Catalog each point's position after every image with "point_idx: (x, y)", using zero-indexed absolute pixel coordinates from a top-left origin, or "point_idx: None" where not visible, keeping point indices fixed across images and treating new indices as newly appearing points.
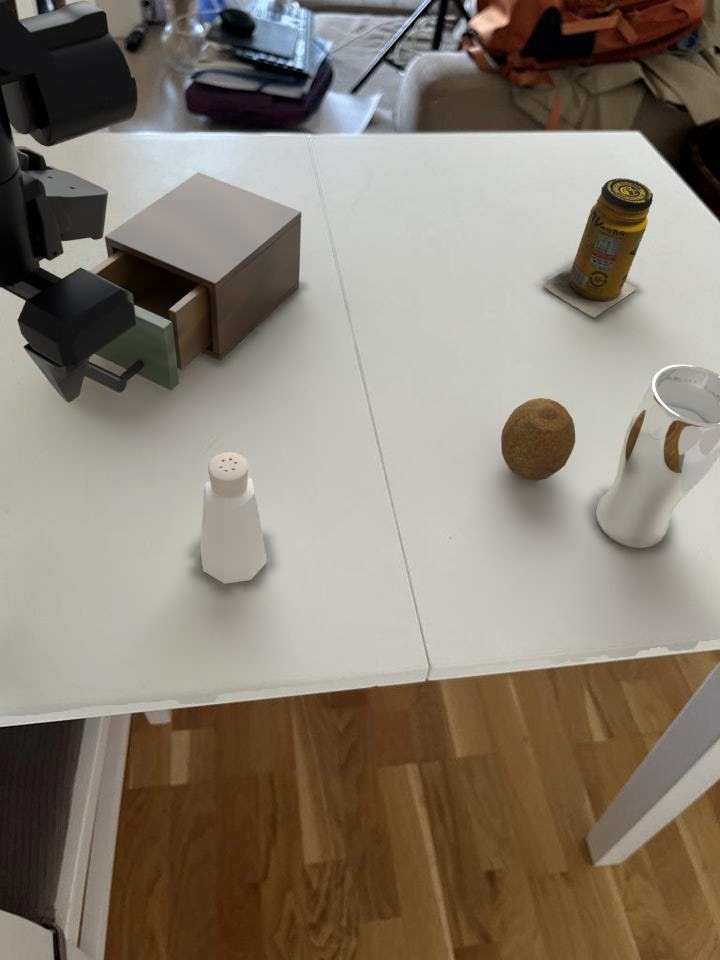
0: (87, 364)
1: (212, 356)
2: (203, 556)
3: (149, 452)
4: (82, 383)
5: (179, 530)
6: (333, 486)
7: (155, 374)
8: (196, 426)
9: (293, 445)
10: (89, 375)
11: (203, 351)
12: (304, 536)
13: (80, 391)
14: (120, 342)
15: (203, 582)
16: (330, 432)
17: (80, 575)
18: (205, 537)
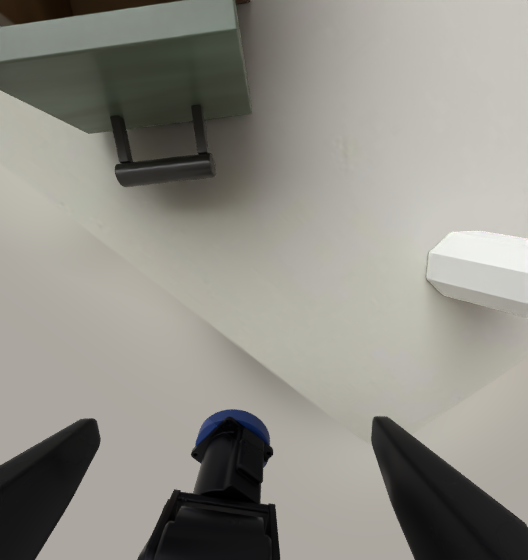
0: (509, 512)
1: (236, 2)
2: (455, 296)
3: (294, 210)
4: (420, 443)
5: (390, 271)
6: (514, 105)
7: (223, 108)
8: (310, 139)
9: (434, 78)
10: (166, 181)
11: None
12: (514, 195)
13: (395, 423)
14: (151, 100)
15: (447, 302)
16: (469, 16)
17: (346, 359)
18: (492, 308)
